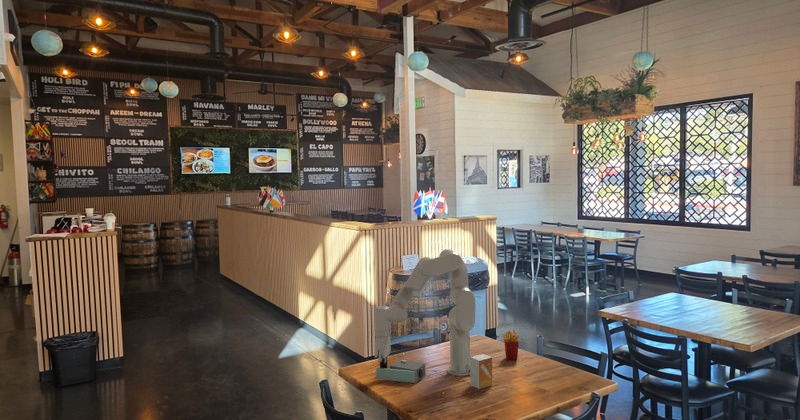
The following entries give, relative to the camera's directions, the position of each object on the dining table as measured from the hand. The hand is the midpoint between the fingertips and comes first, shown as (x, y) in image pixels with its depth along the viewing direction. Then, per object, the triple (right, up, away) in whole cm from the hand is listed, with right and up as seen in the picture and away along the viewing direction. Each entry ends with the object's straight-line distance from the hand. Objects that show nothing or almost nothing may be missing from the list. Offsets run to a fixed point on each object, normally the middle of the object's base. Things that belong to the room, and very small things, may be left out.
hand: (383, 370), depth 247 cm
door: (+6, -3, -4) cm, 8 cm away
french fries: (+65, -1, +24) cm, 69 cm away
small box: (+45, -4, -11) cm, 46 cm away
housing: (+11, -3, +1) cm, 12 cm away
